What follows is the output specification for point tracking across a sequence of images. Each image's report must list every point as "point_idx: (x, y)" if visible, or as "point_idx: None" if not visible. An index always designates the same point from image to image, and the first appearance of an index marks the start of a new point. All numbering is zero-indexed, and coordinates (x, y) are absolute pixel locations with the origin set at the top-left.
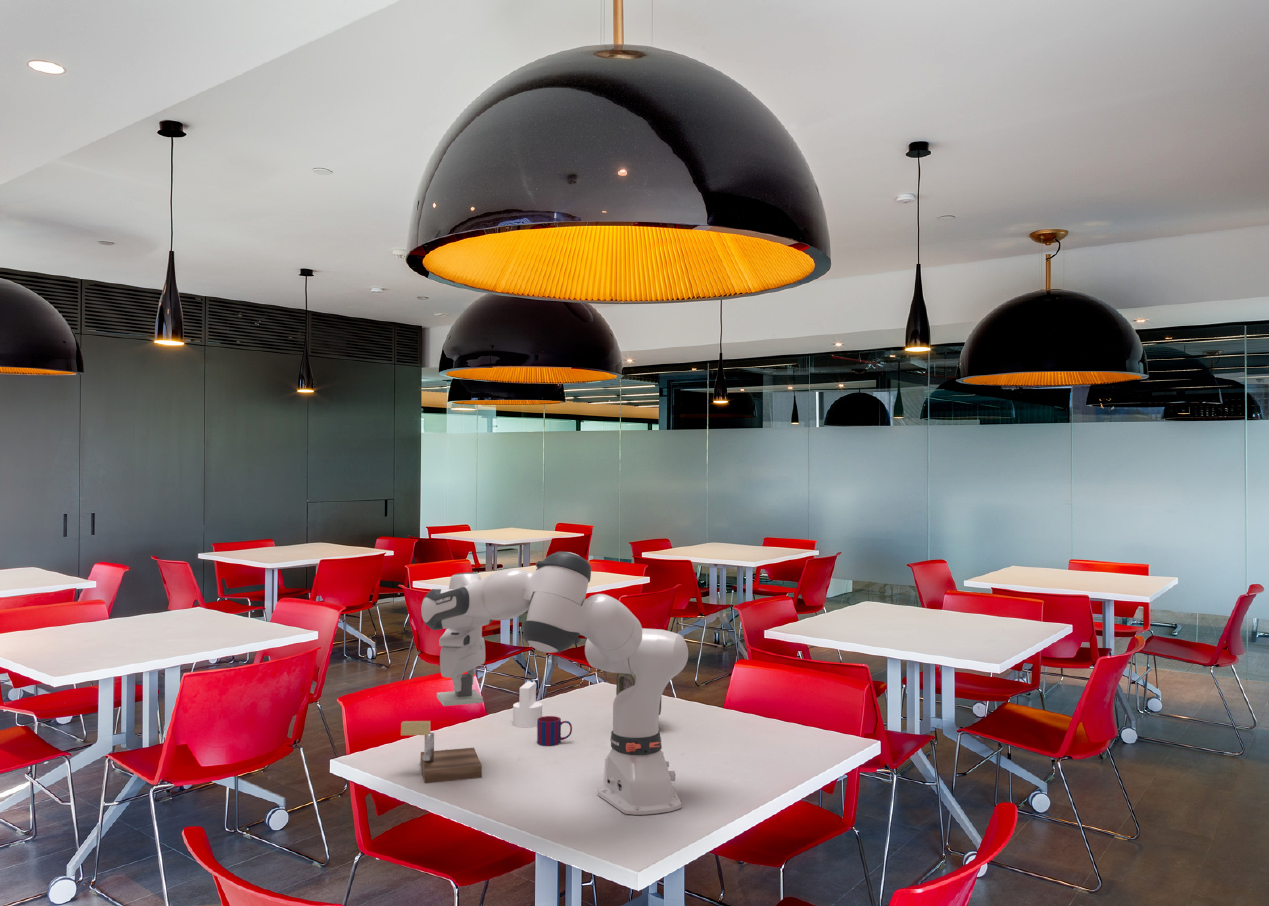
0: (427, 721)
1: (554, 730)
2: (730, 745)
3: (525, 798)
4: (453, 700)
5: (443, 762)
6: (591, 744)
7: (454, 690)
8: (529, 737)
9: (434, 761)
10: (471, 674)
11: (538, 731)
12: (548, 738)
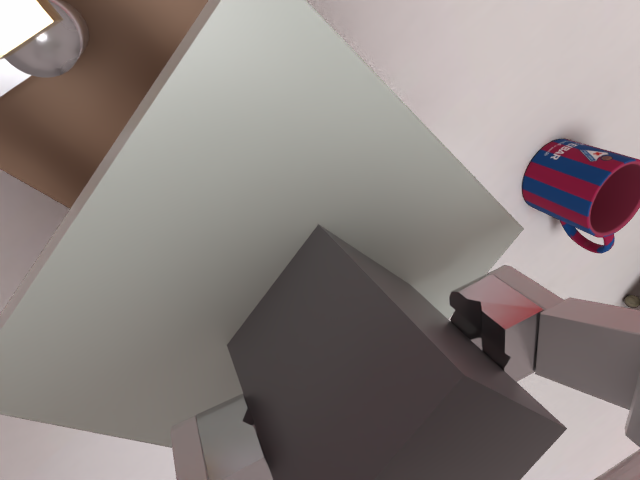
0: (16, 7)
1: (567, 223)
2: (577, 439)
3: (120, 463)
4: (79, 428)
5: (105, 112)
6: (552, 271)
7: (171, 431)
8: (590, 82)
9: (84, 56)
10: (598, 375)
11: (566, 172)
12: (541, 203)
